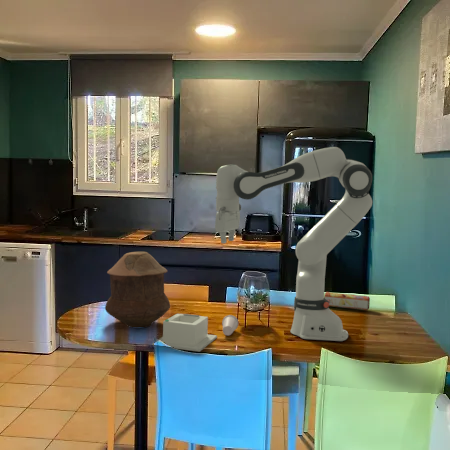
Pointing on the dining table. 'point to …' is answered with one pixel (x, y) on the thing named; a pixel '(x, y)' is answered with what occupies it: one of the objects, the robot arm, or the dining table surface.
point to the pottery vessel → (137, 290)
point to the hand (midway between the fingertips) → (227, 242)
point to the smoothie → (229, 324)
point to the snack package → (347, 300)
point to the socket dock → (187, 332)
